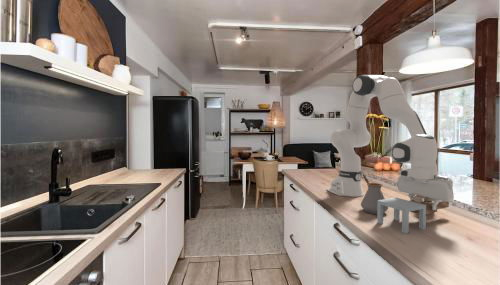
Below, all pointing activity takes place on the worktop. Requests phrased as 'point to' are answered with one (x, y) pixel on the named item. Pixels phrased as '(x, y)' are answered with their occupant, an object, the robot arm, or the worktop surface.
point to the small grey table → (405, 208)
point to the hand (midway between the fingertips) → (423, 206)
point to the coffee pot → (372, 197)
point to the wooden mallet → (429, 202)
